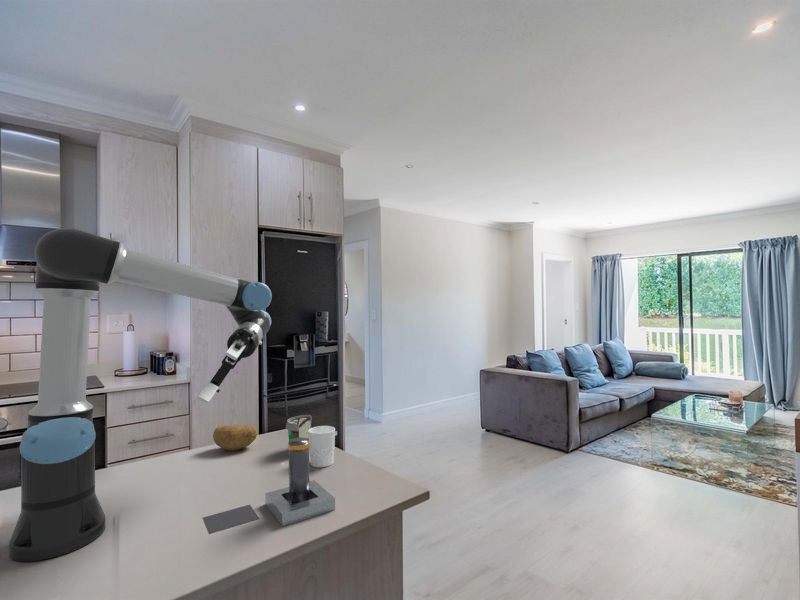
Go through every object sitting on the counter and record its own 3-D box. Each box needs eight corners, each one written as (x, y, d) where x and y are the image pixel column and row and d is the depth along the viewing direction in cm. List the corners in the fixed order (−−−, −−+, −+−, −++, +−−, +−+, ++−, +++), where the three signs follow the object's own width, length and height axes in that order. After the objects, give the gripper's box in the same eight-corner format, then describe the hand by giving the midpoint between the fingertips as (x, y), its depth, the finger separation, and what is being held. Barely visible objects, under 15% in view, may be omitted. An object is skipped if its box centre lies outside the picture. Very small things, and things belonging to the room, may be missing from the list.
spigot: (293, 518, 91) (292, 445, 91) (286, 509, 95) (285, 439, 95) (313, 512, 94) (312, 441, 94) (305, 504, 97) (304, 436, 98)
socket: (282, 531, 86) (282, 514, 86) (265, 508, 96) (265, 493, 96) (335, 513, 93) (335, 498, 93) (314, 494, 102) (314, 480, 103)
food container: (294, 443, 142) (294, 414, 142) (312, 443, 141) (311, 414, 141) (279, 456, 129) (279, 424, 130) (298, 457, 129) (297, 424, 129)
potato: (253, 453, 132) (253, 428, 133) (208, 455, 131) (207, 430, 131) (261, 443, 142) (261, 420, 142) (219, 445, 141) (219, 421, 141)
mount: (209, 538, 83) (209, 533, 83) (202, 522, 90) (202, 517, 90) (259, 523, 89) (259, 518, 89) (249, 508, 96) (249, 504, 96)
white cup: (329, 469, 118) (329, 434, 118) (304, 467, 120) (303, 433, 120) (339, 459, 126) (338, 426, 126) (315, 457, 128) (314, 425, 128)
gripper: (280, 312, 112) (258, 345, 92) (235, 379, 118) (206, 424, 98) (255, 297, 111) (228, 328, 91) (211, 366, 117) (176, 409, 96)
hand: (216, 378), depth 94 cm, fingers open, 13 cm apart
